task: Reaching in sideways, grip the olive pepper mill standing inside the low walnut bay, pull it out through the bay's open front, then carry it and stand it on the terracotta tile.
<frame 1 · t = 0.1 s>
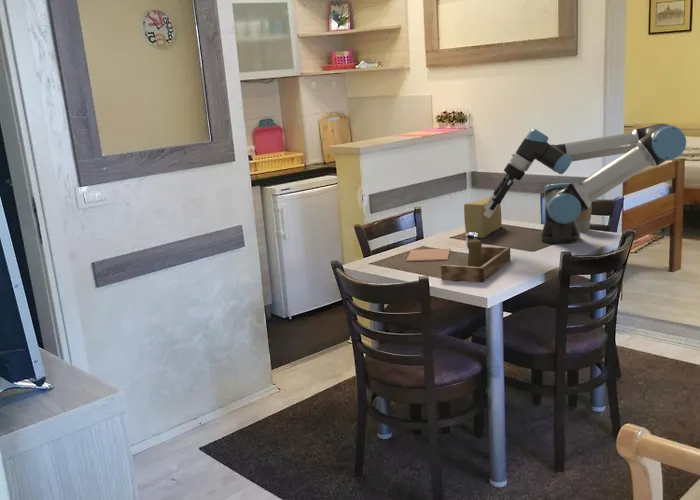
hand: (486, 212, 268), 15 cm above the table, tool tilted 35°, fingers open, 13 cm apart
terracotta tile: (428, 255, 273), on the table
walnut bay: (475, 269, 248), on the table
olive pepper mill: (475, 270, 248), on the table
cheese: (487, 232, 303), on the table
coffee cup: (581, 230, 291), on the table
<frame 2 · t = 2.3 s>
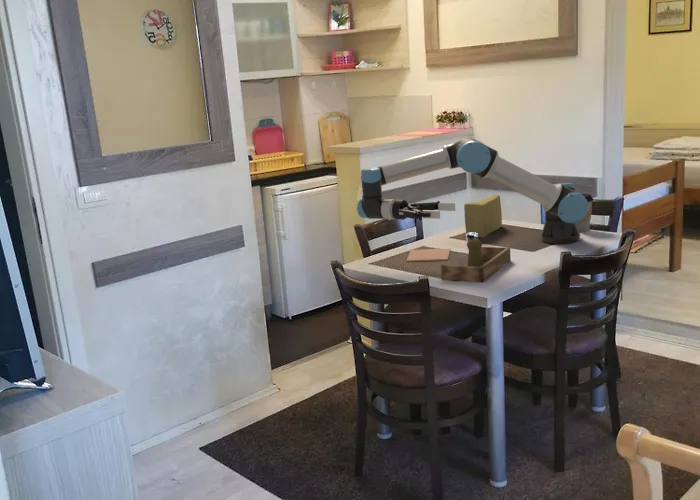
hand: (447, 210, 248), 21 cm above the table, tool horizontal, fingers open, 13 cm apart
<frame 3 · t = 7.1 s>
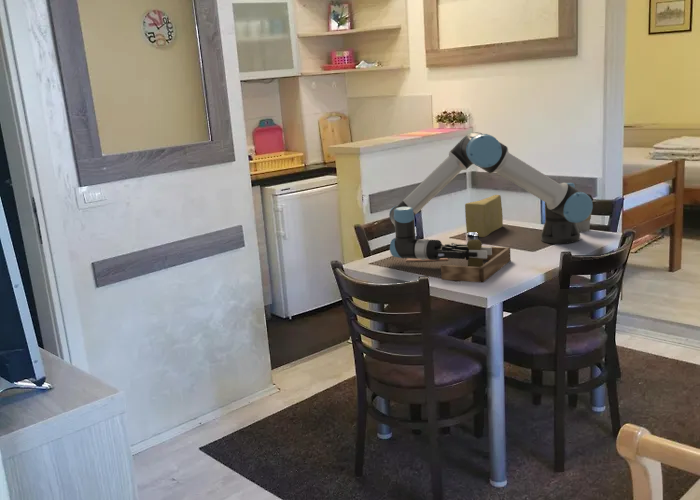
hand: (489, 252, 243), 7 cm above the table, tool horizontal, fingers closed on olive pepper mill, 4 cm apart
olive pepper mill: (475, 270, 248), on the table, touching gripper
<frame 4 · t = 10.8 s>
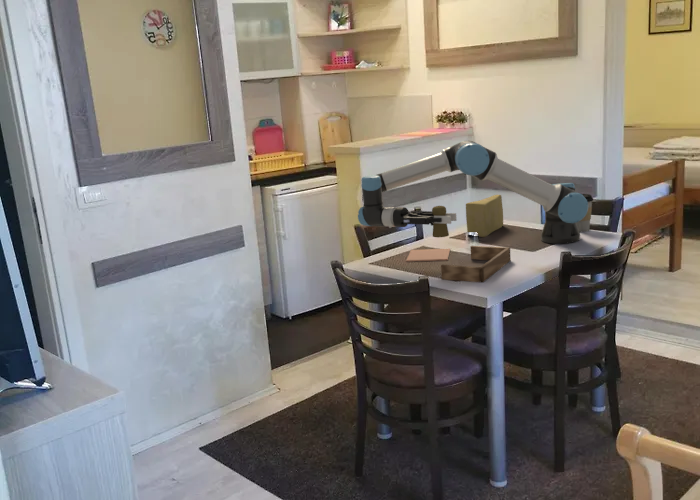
hand: (453, 218, 247), 19 cm above the table, tool horizontal, fingers closed on olive pepper mill, 4 cm apart
olive pepper mill: (440, 236, 252), point 12 cm above the table, touching gripper
when the fingers open (7 cm above the table, at t = 14.4 s): olive pepper mill moves 2 cm, on the table.
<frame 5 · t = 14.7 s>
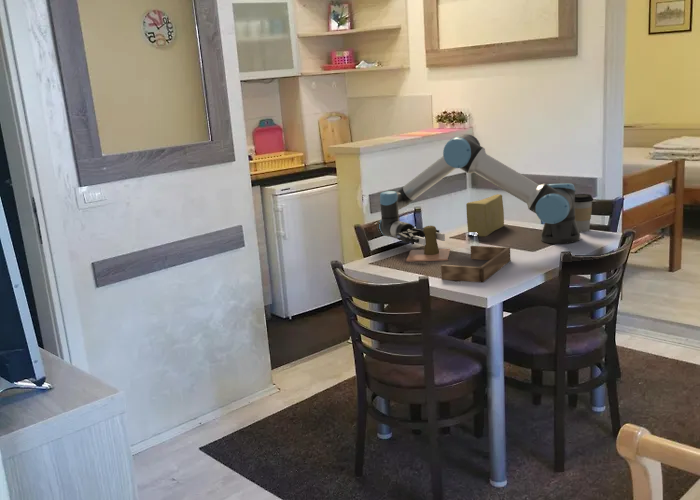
hand: (434, 239, 267), 7 cm above the table, tool horizontal, fingers open, 8 cm apart
olive pepper mill: (431, 253, 274), resting on terracotta tile, touching gripper
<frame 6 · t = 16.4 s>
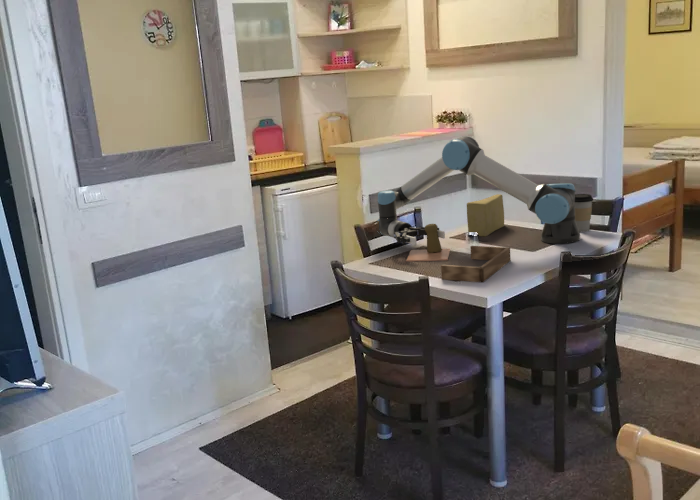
hand: (429, 238, 269), 8 cm above the table, tool horizontal, fingers open, 13 cm apart
olive pepper mill: (434, 251, 276), point 1 cm above the table, touching terracotta tile
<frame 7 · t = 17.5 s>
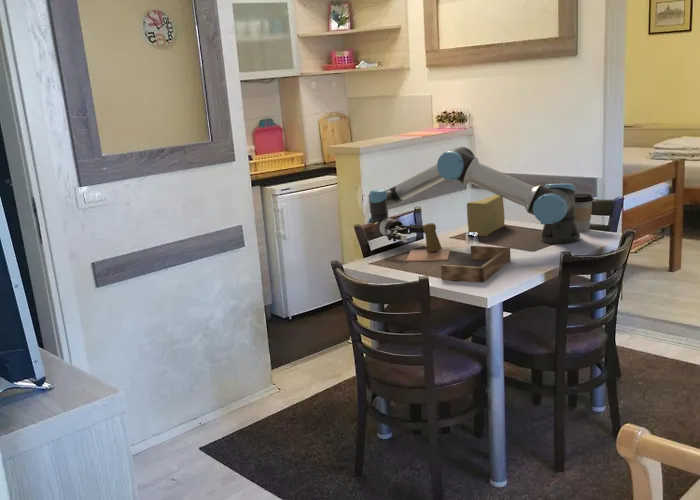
hand: (420, 235, 274), 8 cm above the table, tool horizontal, fingers open, 13 cm apart
olive pepper mill: (434, 250, 276), point 1 cm above the table, touching gripper, terracotta tile
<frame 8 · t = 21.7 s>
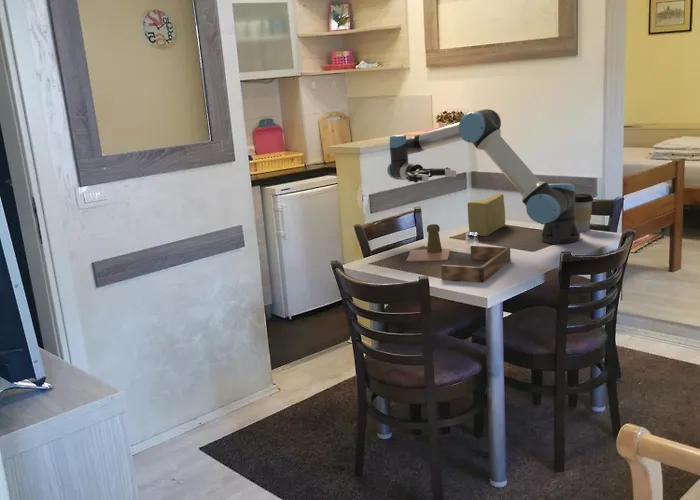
hand: (441, 176, 274), 30 cm above the table, tool horizontal, fingers open, 13 cm apart
olive pepper mill: (434, 251, 276), resting on terracotta tile
at the end: olive pepper mill inside the target area on the terracotta tile (4.7 cm from its centre), point 0.4 cm above the terracotta tile's base; olive pepper mill tilted 0°; the gripper is holding nothing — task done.
